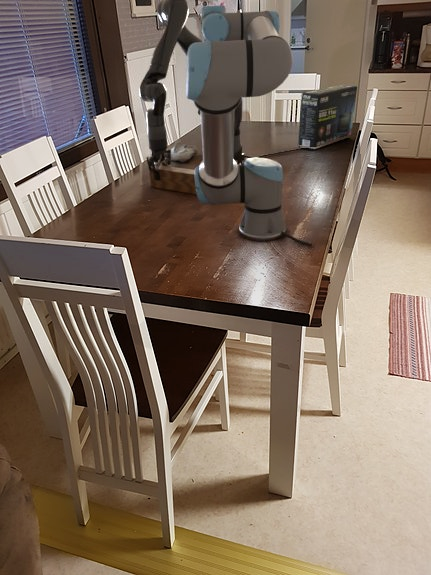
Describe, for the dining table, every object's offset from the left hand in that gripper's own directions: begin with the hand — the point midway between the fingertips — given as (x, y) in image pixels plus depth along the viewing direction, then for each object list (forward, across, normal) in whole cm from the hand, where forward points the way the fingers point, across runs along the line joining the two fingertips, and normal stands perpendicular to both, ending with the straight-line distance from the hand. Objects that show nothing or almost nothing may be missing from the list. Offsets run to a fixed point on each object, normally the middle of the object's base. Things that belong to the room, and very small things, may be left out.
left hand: (161, 177), depth 191 cm
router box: (+4, -94, +39) cm, 102 cm away
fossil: (+4, -39, -18) cm, 43 cm away
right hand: (-24, +10, +34) cm, 43 cm away
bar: (+4, 0, +8) cm, 9 cm away
